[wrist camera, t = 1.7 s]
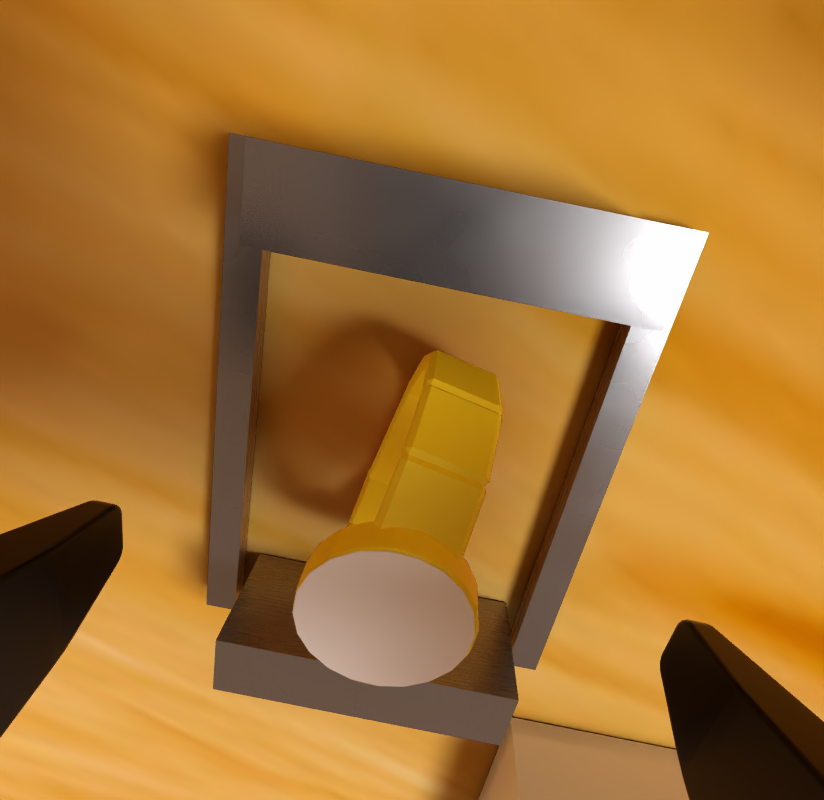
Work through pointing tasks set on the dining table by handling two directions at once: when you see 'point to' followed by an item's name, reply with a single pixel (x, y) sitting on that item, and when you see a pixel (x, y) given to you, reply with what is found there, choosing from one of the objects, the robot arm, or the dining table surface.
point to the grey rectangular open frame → (451, 268)
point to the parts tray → (579, 767)
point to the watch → (408, 538)
